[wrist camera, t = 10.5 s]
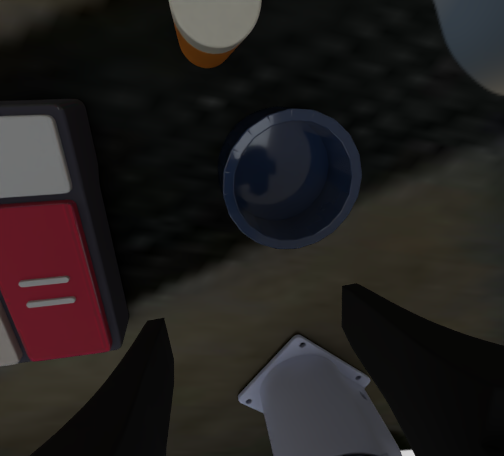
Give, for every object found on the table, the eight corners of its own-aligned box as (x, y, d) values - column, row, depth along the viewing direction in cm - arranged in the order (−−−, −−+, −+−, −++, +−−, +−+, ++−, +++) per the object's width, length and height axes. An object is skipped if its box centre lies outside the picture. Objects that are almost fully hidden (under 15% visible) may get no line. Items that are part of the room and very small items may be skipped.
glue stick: (243, 35, 18) (280, -10, 11) (211, 79, 19) (223, 68, 11) (199, -8, 17) (206, -92, 10) (166, 41, 18) (147, -1, 10)
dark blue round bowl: (356, 159, 22) (388, 171, 19) (281, 245, 24) (298, 272, 20) (271, 78, 20) (289, 73, 16) (193, 180, 21) (193, 198, 17)
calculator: (-77, 386, 19) (-250, 114, 13) (-32, 334, 23) (-147, 105, 17) (121, 359, 21) (55, 104, 14) (132, 314, 24) (84, 98, 18)
